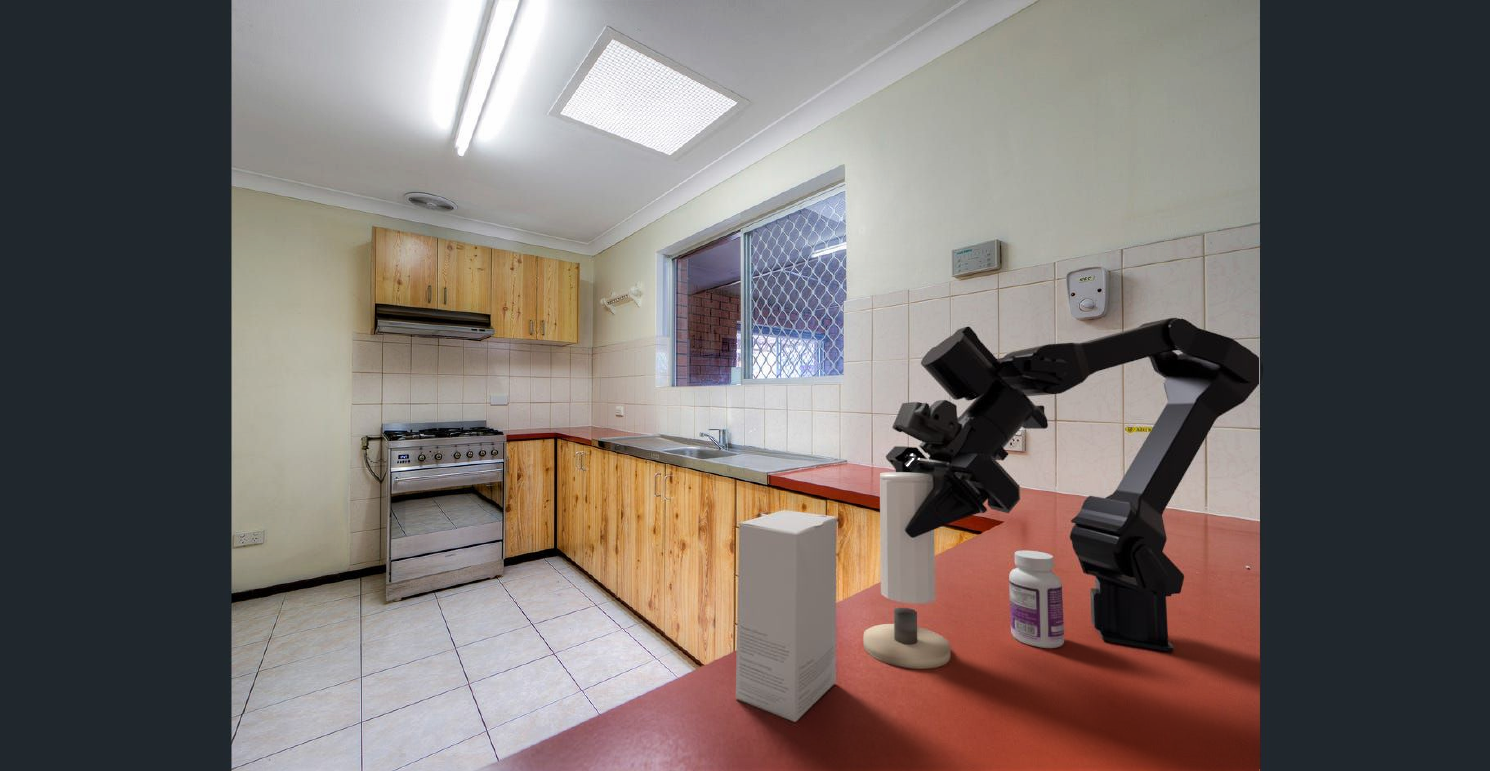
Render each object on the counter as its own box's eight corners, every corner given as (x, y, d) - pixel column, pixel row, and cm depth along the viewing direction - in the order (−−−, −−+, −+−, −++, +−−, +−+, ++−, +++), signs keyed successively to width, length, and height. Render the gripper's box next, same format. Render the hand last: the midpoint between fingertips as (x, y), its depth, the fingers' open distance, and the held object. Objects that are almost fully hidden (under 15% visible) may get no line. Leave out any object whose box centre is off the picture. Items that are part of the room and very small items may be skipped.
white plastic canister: (944, 595, 56) (942, 474, 57) (919, 607, 52) (917, 477, 53) (897, 583, 60) (896, 471, 61) (871, 593, 56) (870, 473, 57)
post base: (953, 642, 58) (952, 605, 58) (946, 676, 50) (945, 633, 50) (873, 627, 62) (873, 593, 62) (854, 656, 54) (854, 617, 54)
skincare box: (781, 665, 52) (782, 508, 53) (841, 685, 48) (841, 515, 49) (731, 700, 45) (734, 520, 46) (797, 727, 41) (798, 529, 42)
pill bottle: (1049, 631, 61) (1047, 549, 62) (1073, 650, 56) (1070, 560, 57) (1002, 629, 62) (1000, 547, 63) (1022, 648, 57) (1019, 558, 57)
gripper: (899, 384, 68) (819, 469, 65) (989, 369, 49) (882, 486, 47) (955, 445, 68) (878, 531, 66) (1064, 452, 50) (963, 572, 47)
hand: (895, 528), depth 56 cm, fingers closed on white plastic canister, 6 cm apart
